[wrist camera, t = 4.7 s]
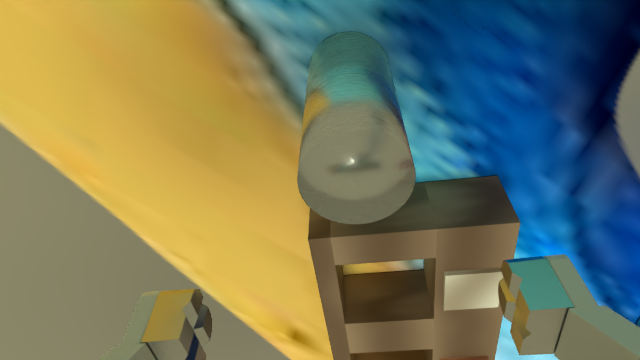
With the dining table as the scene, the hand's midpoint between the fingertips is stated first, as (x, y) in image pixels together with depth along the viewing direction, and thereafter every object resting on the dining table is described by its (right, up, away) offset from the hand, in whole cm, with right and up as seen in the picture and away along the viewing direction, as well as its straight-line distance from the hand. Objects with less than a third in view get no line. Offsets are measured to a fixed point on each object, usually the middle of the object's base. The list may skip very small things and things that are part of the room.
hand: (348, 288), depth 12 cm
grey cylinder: (+1, +8, +10) cm, 13 cm away
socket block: (+5, -5, +20) cm, 21 cm away
